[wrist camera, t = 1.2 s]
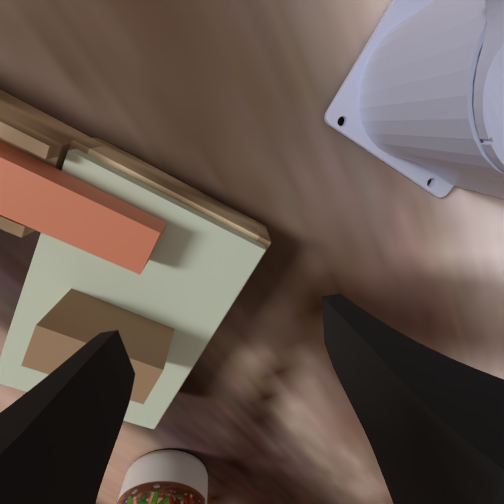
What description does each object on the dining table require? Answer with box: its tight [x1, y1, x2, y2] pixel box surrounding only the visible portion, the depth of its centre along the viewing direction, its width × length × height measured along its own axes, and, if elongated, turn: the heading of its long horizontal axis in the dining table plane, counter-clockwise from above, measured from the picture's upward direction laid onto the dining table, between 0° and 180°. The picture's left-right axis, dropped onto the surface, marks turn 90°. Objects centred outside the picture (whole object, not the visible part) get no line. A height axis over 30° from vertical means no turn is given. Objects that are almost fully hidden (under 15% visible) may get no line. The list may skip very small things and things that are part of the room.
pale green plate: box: [0, 149, 266, 429], centre depth 16 cm, size 10×15×4 cm
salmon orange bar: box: [0, 141, 167, 275], centre depth 13 cm, size 10×2×2 cm, turn 60°
